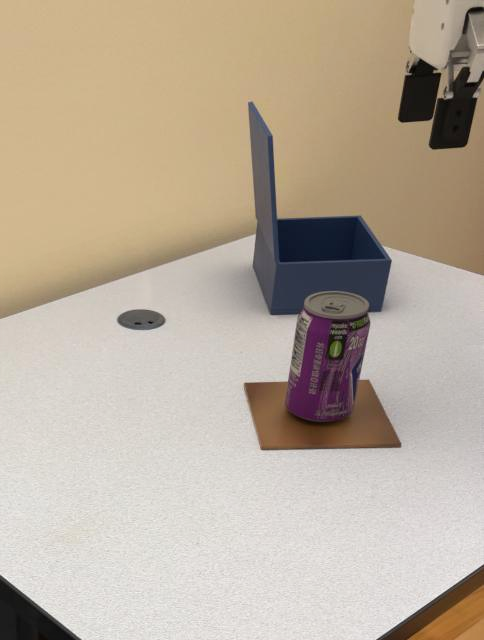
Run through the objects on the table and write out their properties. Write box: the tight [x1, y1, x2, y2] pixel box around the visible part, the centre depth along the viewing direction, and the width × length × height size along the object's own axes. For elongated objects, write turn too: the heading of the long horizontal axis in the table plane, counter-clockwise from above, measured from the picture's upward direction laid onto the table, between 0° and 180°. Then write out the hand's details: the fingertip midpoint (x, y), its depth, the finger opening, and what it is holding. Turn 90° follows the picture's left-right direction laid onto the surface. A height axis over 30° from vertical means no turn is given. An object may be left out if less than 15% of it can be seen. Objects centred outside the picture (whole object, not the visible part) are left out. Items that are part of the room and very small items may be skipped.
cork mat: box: [243, 379, 402, 450], centre depth 96 cm, size 14×14×1 cm
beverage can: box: [285, 291, 371, 422], centre depth 92 cm, size 7×7×12 cm
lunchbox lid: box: [247, 101, 279, 261], centre depth 114 cm, size 15×17×1 cm
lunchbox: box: [252, 214, 393, 316], centre depth 120 cm, size 14×17×7 cm
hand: (430, 133), depth 83 cm, fingers open, 9 cm apart
